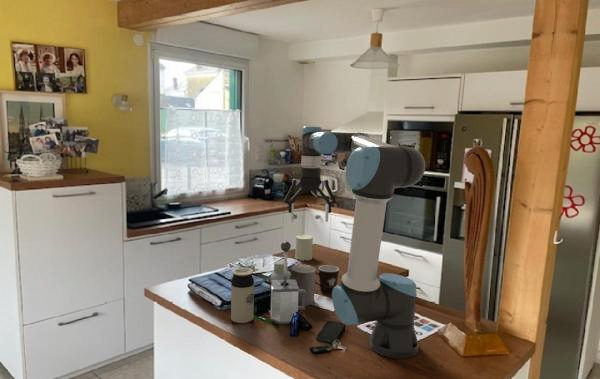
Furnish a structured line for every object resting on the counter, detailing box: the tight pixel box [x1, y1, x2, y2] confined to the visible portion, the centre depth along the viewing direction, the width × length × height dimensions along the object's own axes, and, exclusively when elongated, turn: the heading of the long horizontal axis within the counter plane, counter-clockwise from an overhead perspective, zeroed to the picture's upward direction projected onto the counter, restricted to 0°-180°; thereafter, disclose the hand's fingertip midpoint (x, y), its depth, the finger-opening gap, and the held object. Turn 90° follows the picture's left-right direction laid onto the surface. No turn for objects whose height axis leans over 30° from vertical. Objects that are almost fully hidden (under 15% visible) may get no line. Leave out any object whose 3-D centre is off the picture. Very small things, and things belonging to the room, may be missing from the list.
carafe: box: [269, 279, 306, 326], centre depth 155 cm, size 10×13×13 cm
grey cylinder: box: [290, 264, 316, 307], centre depth 170 cm, size 10×10×15 cm
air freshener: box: [270, 260, 291, 283], centre depth 188 cm, size 11×8×10 cm
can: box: [294, 234, 314, 262], centre depth 227 cm, size 9×9×12 cm
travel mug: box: [230, 267, 255, 324], centre depth 153 cm, size 8×8×18 cm
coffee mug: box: [315, 264, 340, 295], centre depth 182 cm, size 12×9×10 cm
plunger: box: [280, 240, 292, 286], centre depth 152 cm, size 7×7×18 cm
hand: (309, 221), depth 167 cm, fingers open, 13 cm apart
